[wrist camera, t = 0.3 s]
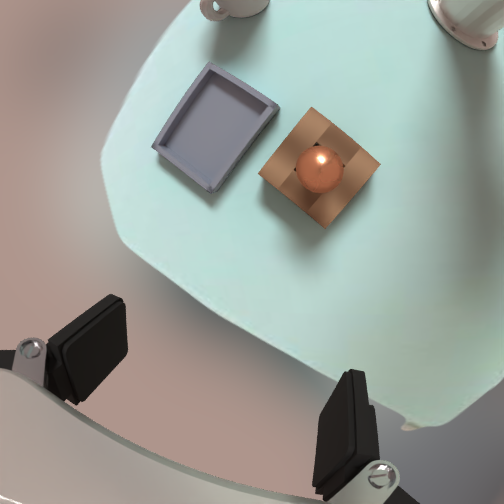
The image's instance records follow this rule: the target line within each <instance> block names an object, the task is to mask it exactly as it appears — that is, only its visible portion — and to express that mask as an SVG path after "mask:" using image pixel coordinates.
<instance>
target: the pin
mask: <svg viewBox="0 0 504 504" xmlns="http://www.w3.org/2000/svg"><path fill="white" fill-rule="evenodd" d="M343 173H344V167H343V163H342V160H341V158H340V157H339V155H338V154H337V153H336V152H335V151H334V150H332V149H330V148H328V147H325V146H313V147H310V148H308V149H306V150H305V151H303V152H302V153H301V155H300V156H299V158H298V160H297V163H296V174H297V177H298V179H299V181H300V183H301V184H302V185H303V186H304V187H305V188H306V189H308V190H310V191H312V192H315V193H326V192H329V191H331V190H333V189H335V188H336V187H337V186H338V185H339V183H340V182H341V180H342V177H343Z"/></svg>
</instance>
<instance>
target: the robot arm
mask: <svg viewBox="0 0 504 504" xmlns="http://www.w3.org/2000/svg"><path fill="white" fill-rule="evenodd" d="M428 4H429V7H430V9H431V11H432V13H433V15H434V17H435V18H436V19H437V21H438V22H439V23H440V24H441V26H442V27H443V28H444V29H445V30H446V31H447V32H448V33H449V34H450V35H451V36H453V37H454V38H455V39H457V40H458V41H460V42H461V43H463V44H464V45H466V46H468V47H471V48H474V49H477V50H488V49H490V48H492V47H493V46H494V45H495V44H496V43H497V40H498V31H499V30H500V29H502V28H503V27H504V0H428ZM127 352H128V343H127V327H126V306H125V303H123V299H122V298H120V297H117V296H115V295H113V294H109V295H108V296H106V297H105V298H103V299H102V300H101V301H99V302H98V303H96V304H95V305H94V306H92V307H91V308H90V309H88V310H87V311H85V312H84V313H83V314H81V315H80V316H79V317H77V318H76V319H75V320H73V321H72V322H71V323H69V324H68V325H67V326H65V327H64V328H63V329H61V330H60V331H59V332H58V333H56V334H55V335H53V336H52V337H51V338H49V339H48V343H47V344H45V343H44V341H42V340H41V339H39V338H27V339H24V340H23V341H21V342H20V343H19V344H18V346H17V348H16V350H0V504H420V503H418V502H417V501H416V500H415V499H413V498H412V497H411V496H410V495H409V494H408V493H406V492H405V491H404V490H403V489H402V488H400V487H399V486H398V484H399V480H400V476H399V472H398V470H397V468H396V467H395V466H394V465H393V464H392V463H390V462H388V461H384V460H380V456H379V445H378V444H379V443H378V433H377V424H376V415H375V409H374V406H373V405H369V402H368V393H367V385H366V378H365V372H364V371H359V370H354V369H350V370H349V371H348V372H346V371H345V372H344V373H343V375H342V377H341V378H340V380H339V382H338V384H337V386H336V388H335V390H334V391H333V393H332V395H331V396H330V398H329V400H328V402H327V403H326V405H325V407H324V408H323V410H322V412H321V414H320V416H319V423H318V435H317V446H316V456H315V465H314V473H313V481H312V486H313V487H316V492H315V494H320V495H323V500H324V501H320V500H315V499H309V498H304V497H298V496H293V495H287V494H282V493H277V492H273V491H268V490H264V489H259V488H255V487H251V486H247V485H243V484H239V483H236V482H232V481H229V480H225V479H222V478H219V477H216V476H213V475H210V474H207V473H204V472H200V471H198V470H195V469H192V468H190V467H187V466H184V465H181V464H179V463H177V462H174V461H172V460H169V459H167V458H165V457H162V456H160V455H158V454H156V453H153V452H151V451H149V450H147V449H145V448H143V447H141V446H139V445H136V444H135V443H133V442H131V441H129V440H127V439H125V438H123V437H121V436H119V435H117V434H115V433H114V432H112V431H110V430H108V429H107V428H105V427H103V426H101V425H100V424H98V423H96V422H95V421H93V420H91V419H90V418H88V417H87V416H85V415H83V414H82V413H80V412H79V411H77V410H76V409H74V408H73V407H71V406H70V405H68V404H67V403H65V402H64V401H65V400H66V399H67V400H69V401H70V402H72V403H73V404H75V405H78V403H79V402H80V401H81V402H83V401H85V400H86V399H87V398H88V396H89V395H90V394H91V393H92V392H93V391H94V390H95V389H96V388H97V387H98V385H100V383H101V382H102V381H103V380H104V379H105V378H106V377H107V376H108V375H109V374H110V373H111V371H112V370H113V369H114V368H115V367H116V366H117V365H118V364H119V363H120V362H121V361H122V360H123V359H124V357H125V356H126V355H127Z"/></svg>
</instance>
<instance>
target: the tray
mask: <svg viewBox="0 0 504 504" xmlns="http://www.w3.org/2000/svg"><path fill="white" fill-rule="evenodd" d="M279 109H280V107H279V105H278V104H276V103H275V102H273V101H272V100H271V99H269V98H268V97H266V96H265V95H263V94H262V93H260V92H259V91H257V90H255V89H254V88H252V87H251V86H249V85H248V84H246V83H244V82H243V81H241V80H240V79H238V78H236V77H235V76H233V75H231V74H230V73H228V72H226V71H225V70H223V69H221V68H219V67H218V66H216V65H214V64H212V63H211V62H208V63H207V64H206V66H205V67H204V68H203V70H202V71H201V72H200V74H199V75H198V76H197V78H196V79H195V80H194V82H193V83H192V85H191V86H190V87H189V89H188V90H187V92H186V93H185V95H184V96H183V97H182V99H181V100H180V102H179V103H178V105H177V106H176V108H175V109H174V111H173V112H172V114H171V115H170V117H169V118H168V120H167V122H166V123H165V125H164V126H163V128H162V130H161V131H160V133H159V134H158V136H157V138H156V139H155V141H154V143H153V144H152V146H151V147H152V148H153V149H154V150H156V151H157V152H158V153H160V154H161V155H162V156H163V157H165V158H166V159H167V160H169V161H170V162H171V163H172V164H174V165H175V166H176V167H178V168H179V169H180V170H181V171H183V172H184V173H185V174H186V175H188V176H189V177H190V178H192V179H193V180H194V181H195V182H197V183H198V184H199V185H200V186H202V187H203V188H204V189H205V190H207V191H208V192H209V193H210V194H211V193H214V192H217V191H218V189H219V188H220V187H221V185H222V184H223V183H224V181H225V180H226V178H227V177H228V176H229V174H230V173H231V171H232V170H233V169H234V167H235V166H236V165H237V163H238V162H239V161H240V159H241V158H242V157H243V155H244V154H245V153H246V151H247V150H248V149H249V147H250V146H251V145H252V143H253V142H254V141H255V139H256V138H257V137H258V136H259V134H260V133H261V132H262V130H263V129H264V128H265V127H266V125H267V124H268V123H269V121H270V120H271V119H272V118H273V116H274V115H275V114H276V113H277V111H278V110H279Z"/></svg>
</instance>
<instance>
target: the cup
mask: <svg viewBox="0 0 504 504" xmlns="http://www.w3.org/2000/svg"><path fill="white" fill-rule="evenodd" d="M214 1H215V2H216V3H217V4H218V5H219V7H220V9H219V10H218V11H215V10H214V8H213V2H214ZM268 3H269V0H201V1H200V10H201V12H202V14H203V15H204V16H205V17H206V18H207V19H208V20H210V21H221V20H223V19H225V18H226V17H227V16H228V15H229V16H233V17H238V18H243V17H250V16H253V15H255V14H257V13H259V12H261V11H262V10H263V9H265V7H266V6H267V5H268Z"/></svg>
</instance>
